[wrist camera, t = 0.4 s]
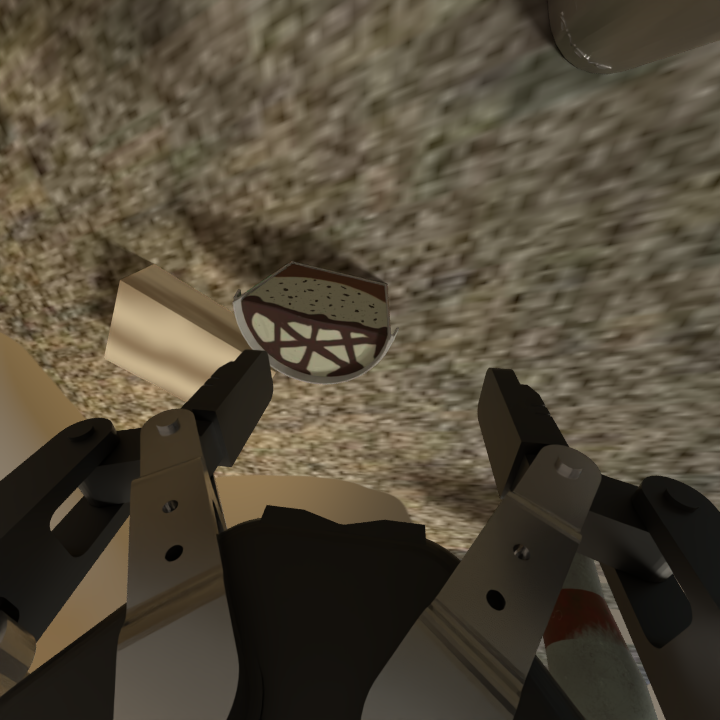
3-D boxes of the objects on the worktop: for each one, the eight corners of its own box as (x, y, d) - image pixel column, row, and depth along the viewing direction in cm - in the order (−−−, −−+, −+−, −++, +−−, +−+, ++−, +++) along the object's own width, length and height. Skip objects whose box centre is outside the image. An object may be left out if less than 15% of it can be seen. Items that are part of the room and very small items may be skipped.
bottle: (595, 535, 48) (787, 958, 23) (541, 555, 52) (652, 920, 28) (553, 508, 45) (713, 941, 21) (500, 530, 50) (581, 903, 26)
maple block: (156, 262, 33) (120, 279, 29) (291, 346, 37) (275, 372, 33) (136, 335, 39) (104, 358, 35) (254, 401, 42) (237, 429, 38)
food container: (273, 314, 34) (229, 369, 26) (276, 257, 31) (225, 300, 22) (387, 341, 34) (378, 405, 26) (402, 287, 30) (397, 342, 22)
